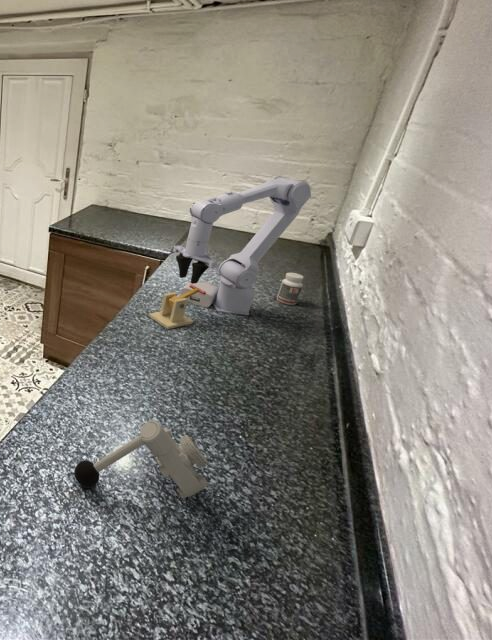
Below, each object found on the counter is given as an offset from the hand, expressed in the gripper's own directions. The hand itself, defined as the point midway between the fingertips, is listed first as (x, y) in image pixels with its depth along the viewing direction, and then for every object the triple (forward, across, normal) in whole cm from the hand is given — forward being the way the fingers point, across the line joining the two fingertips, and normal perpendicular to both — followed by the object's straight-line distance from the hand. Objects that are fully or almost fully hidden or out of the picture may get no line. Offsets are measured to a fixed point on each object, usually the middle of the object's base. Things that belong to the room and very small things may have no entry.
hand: (188, 280), depth 126 cm
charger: (+11, -4, +14) cm, 18 cm away
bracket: (+10, +4, -9) cm, 15 cm away
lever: (+4, +5, -5) cm, 8 cm away
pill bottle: (+11, +8, +40) cm, 42 cm away
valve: (+11, +46, -59) cm, 75 cm away
